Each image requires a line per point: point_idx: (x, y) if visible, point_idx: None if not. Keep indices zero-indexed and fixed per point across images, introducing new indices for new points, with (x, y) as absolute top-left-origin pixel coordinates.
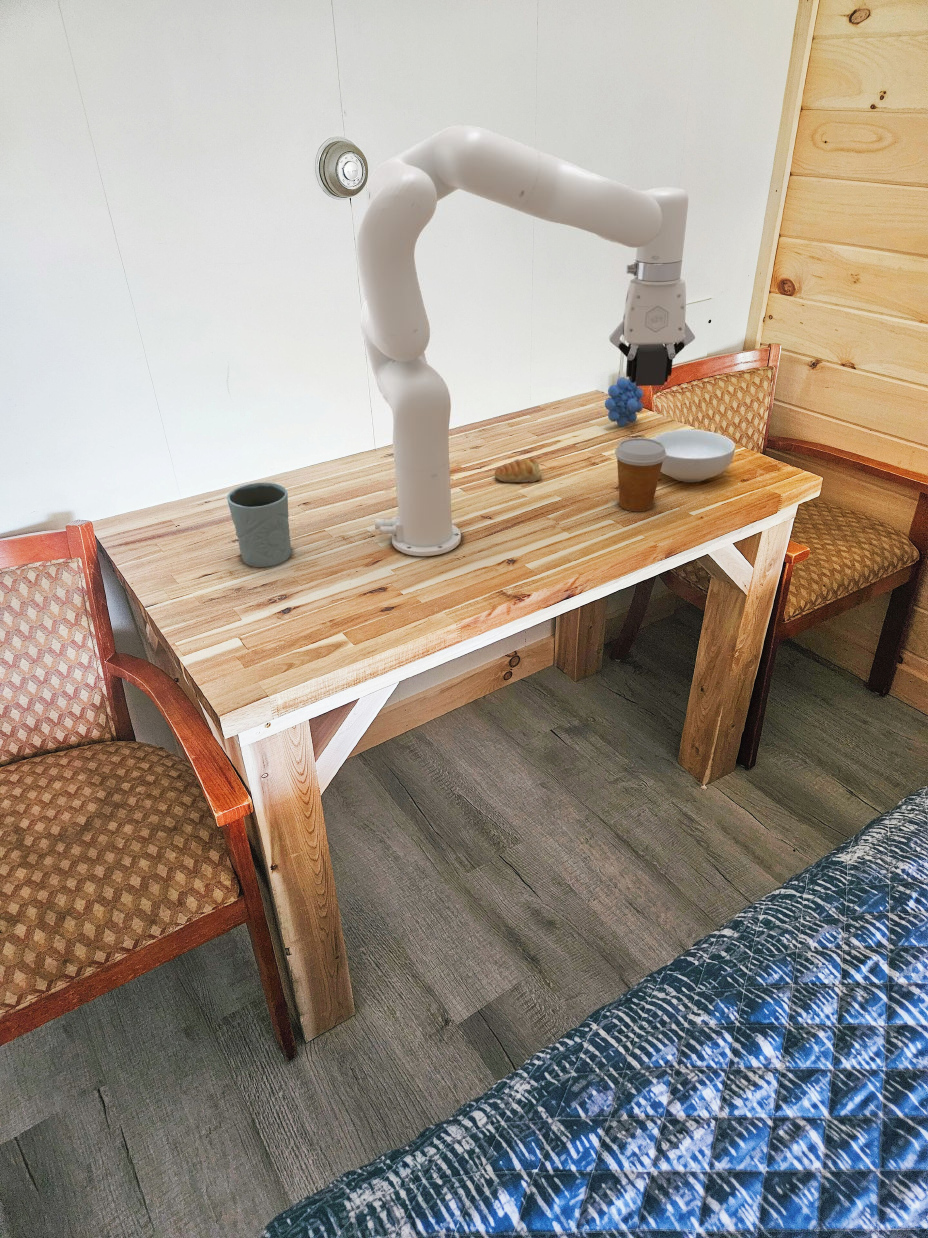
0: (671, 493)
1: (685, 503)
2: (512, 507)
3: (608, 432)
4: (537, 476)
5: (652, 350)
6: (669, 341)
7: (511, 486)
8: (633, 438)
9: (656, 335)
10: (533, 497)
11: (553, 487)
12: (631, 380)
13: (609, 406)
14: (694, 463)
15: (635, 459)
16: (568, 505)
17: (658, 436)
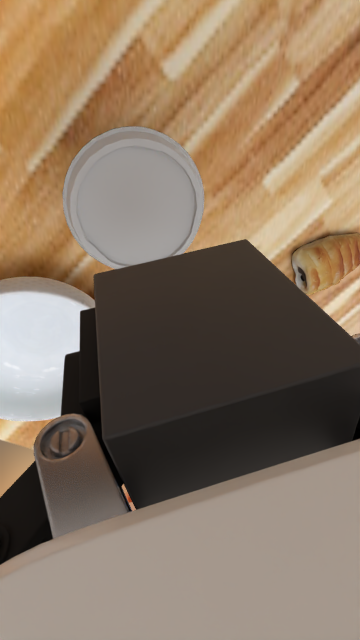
0: (57, 242)
1: (18, 198)
2: (354, 124)
3: None
4: (300, 250)
5: (249, 413)
6: (96, 544)
7: (338, 220)
8: None
9: (334, 588)
10: (310, 179)
11: (272, 229)
12: None
13: None
14: (9, 286)
15: (149, 134)
16: (252, 150)
17: None
